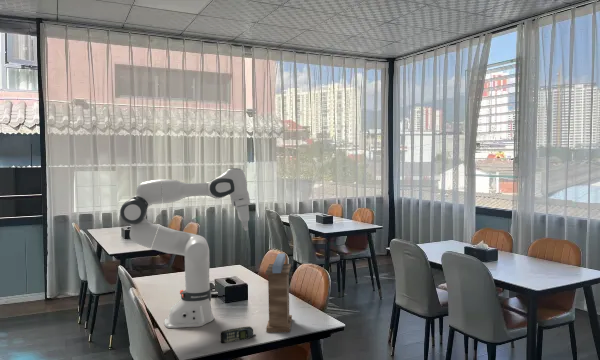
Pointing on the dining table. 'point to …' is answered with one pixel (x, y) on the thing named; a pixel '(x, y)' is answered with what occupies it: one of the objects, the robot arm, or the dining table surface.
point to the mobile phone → (236, 334)
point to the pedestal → (278, 300)
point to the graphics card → (213, 289)
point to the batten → (279, 263)
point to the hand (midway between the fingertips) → (245, 229)
